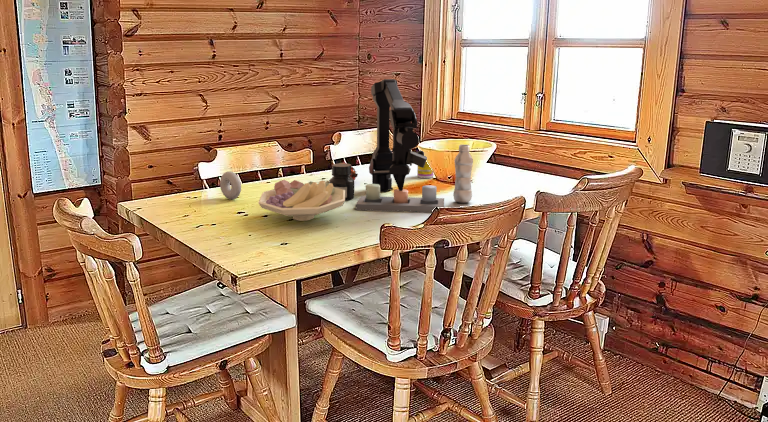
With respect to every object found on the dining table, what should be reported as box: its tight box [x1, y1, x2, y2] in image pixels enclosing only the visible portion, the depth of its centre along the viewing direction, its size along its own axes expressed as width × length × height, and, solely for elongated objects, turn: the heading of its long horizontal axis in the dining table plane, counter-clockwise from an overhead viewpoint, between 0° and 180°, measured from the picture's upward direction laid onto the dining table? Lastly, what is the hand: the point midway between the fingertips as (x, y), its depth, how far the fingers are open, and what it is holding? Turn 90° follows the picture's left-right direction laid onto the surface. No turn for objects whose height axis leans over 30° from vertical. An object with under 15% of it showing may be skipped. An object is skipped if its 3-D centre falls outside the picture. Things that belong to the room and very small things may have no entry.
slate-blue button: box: [421, 184, 438, 201], centre depth 228 cm, size 5×5×4 cm
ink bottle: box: [328, 162, 355, 201], centre depth 240 cm, size 10×9×12 cm
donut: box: [219, 171, 242, 200], centre depth 238 cm, size 10×4×10 cm, turn 48°
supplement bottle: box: [416, 144, 435, 179], centre depth 277 cm, size 7×7×13 cm
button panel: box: [355, 195, 445, 213], centre depth 230 cm, size 29×12×2 cm, turn 84°
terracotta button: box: [393, 188, 409, 204], centre depth 229 cm, size 5×5×4 cm
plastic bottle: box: [452, 144, 474, 204], centre depth 234 cm, size 6×7×20 cm
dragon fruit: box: [341, 162, 359, 181], centre depth 267 cm, size 8×8×12 cm
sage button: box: [365, 183, 381, 200], centre depth 230 cm, size 5×5×4 cm
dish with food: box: [257, 179, 346, 222], centre depth 214 cm, size 28×28×14 cm
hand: (400, 190), depth 229 cm, fingers closed, pressing on terracotta button
